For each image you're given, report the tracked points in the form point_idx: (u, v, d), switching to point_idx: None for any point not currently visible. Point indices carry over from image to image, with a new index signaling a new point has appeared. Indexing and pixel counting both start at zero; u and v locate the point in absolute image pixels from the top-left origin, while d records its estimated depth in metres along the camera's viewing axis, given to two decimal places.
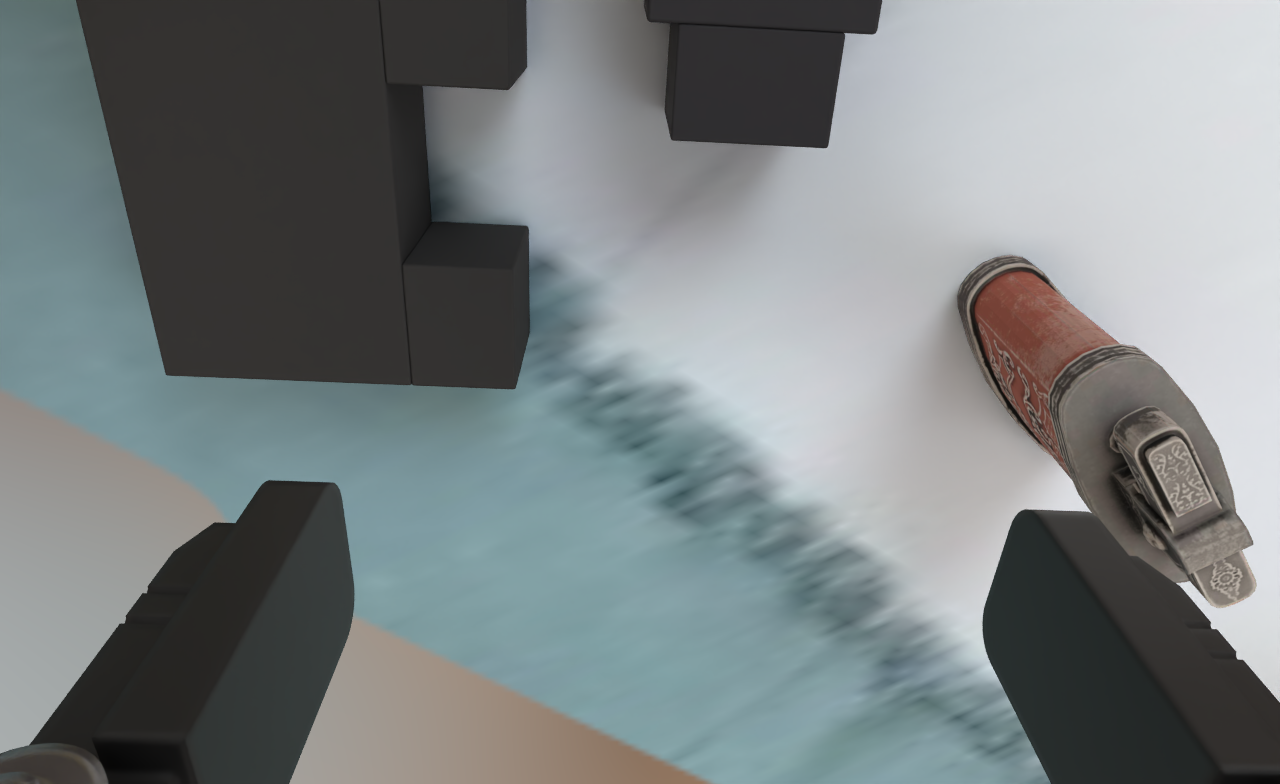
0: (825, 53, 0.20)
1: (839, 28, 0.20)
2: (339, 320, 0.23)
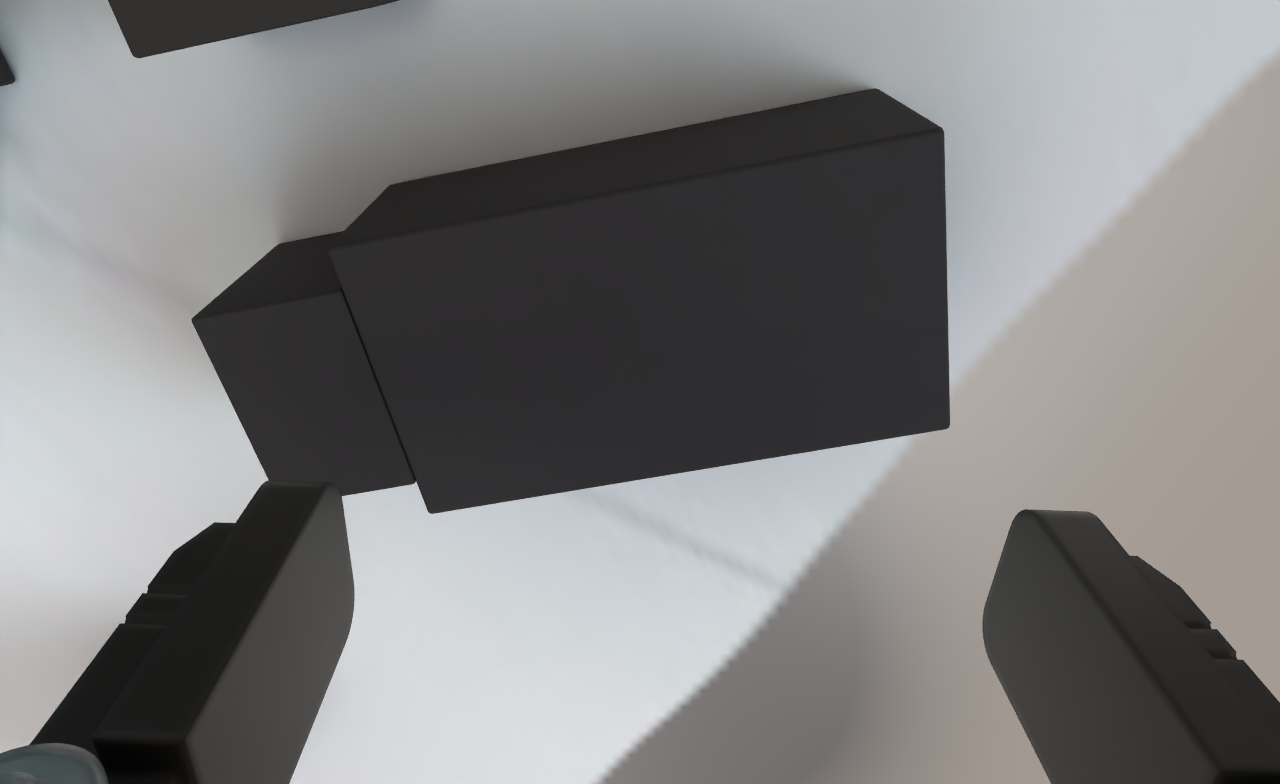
0: (384, 470, 0.16)
1: (417, 476, 0.16)
2: None
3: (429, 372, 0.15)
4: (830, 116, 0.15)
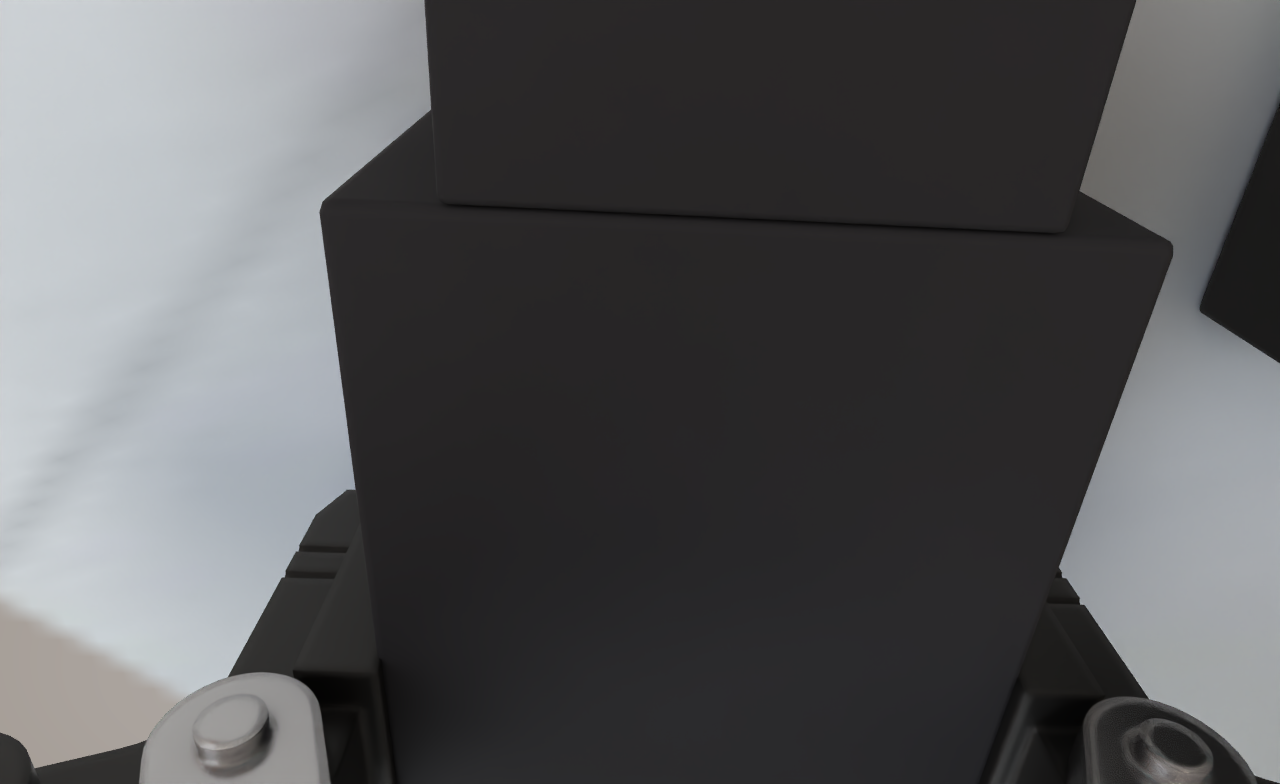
0: (502, 132, 0.05)
1: (464, 224, 0.05)
2: None
3: (776, 365, 0.06)
4: None
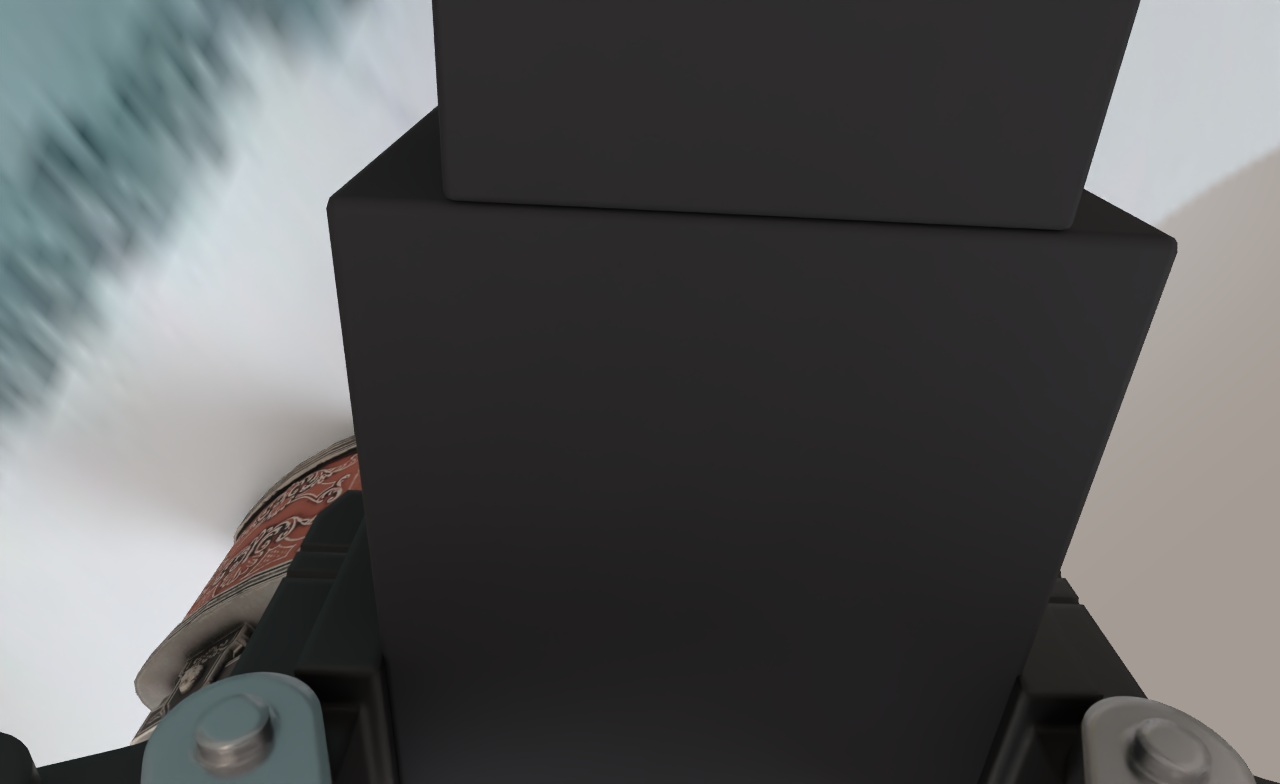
0: (508, 129, 0.05)
1: (471, 221, 0.05)
2: None
3: (781, 362, 0.06)
4: None
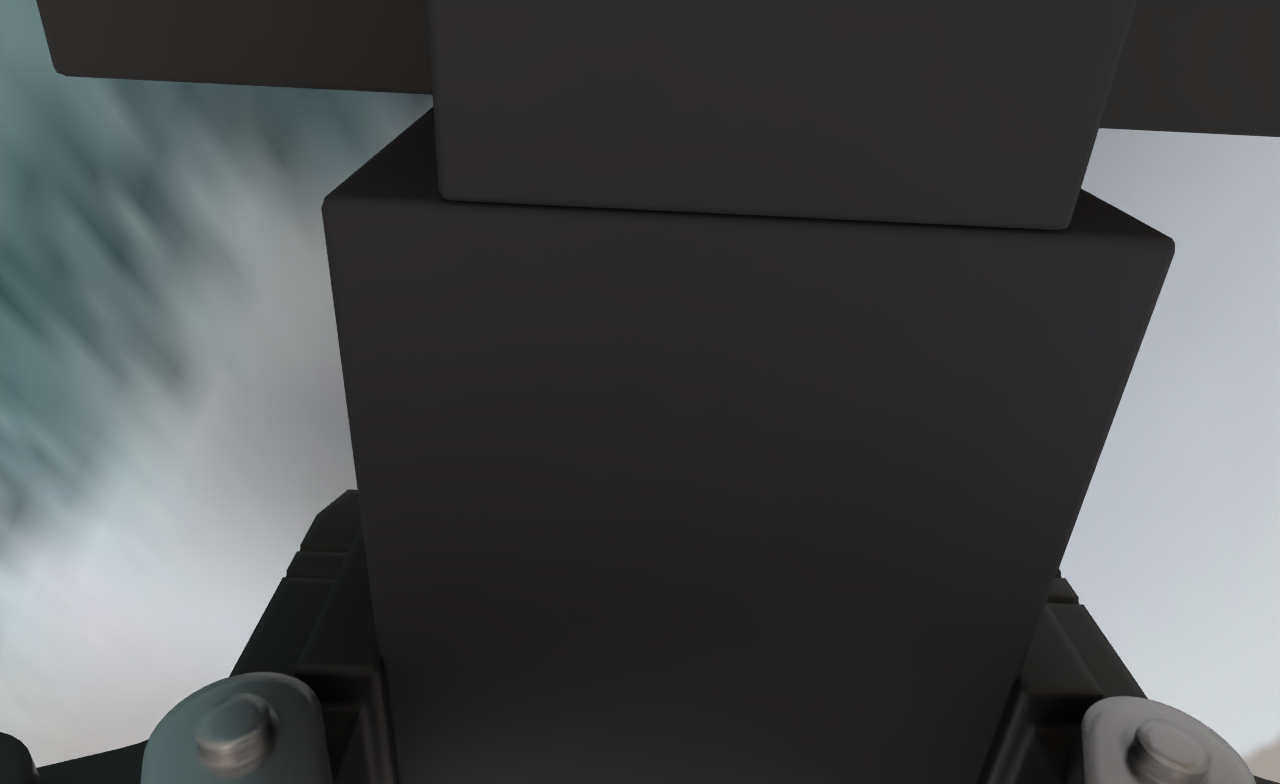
0: (504, 129, 0.05)
1: (466, 221, 0.05)
2: None
3: (777, 364, 0.06)
4: None
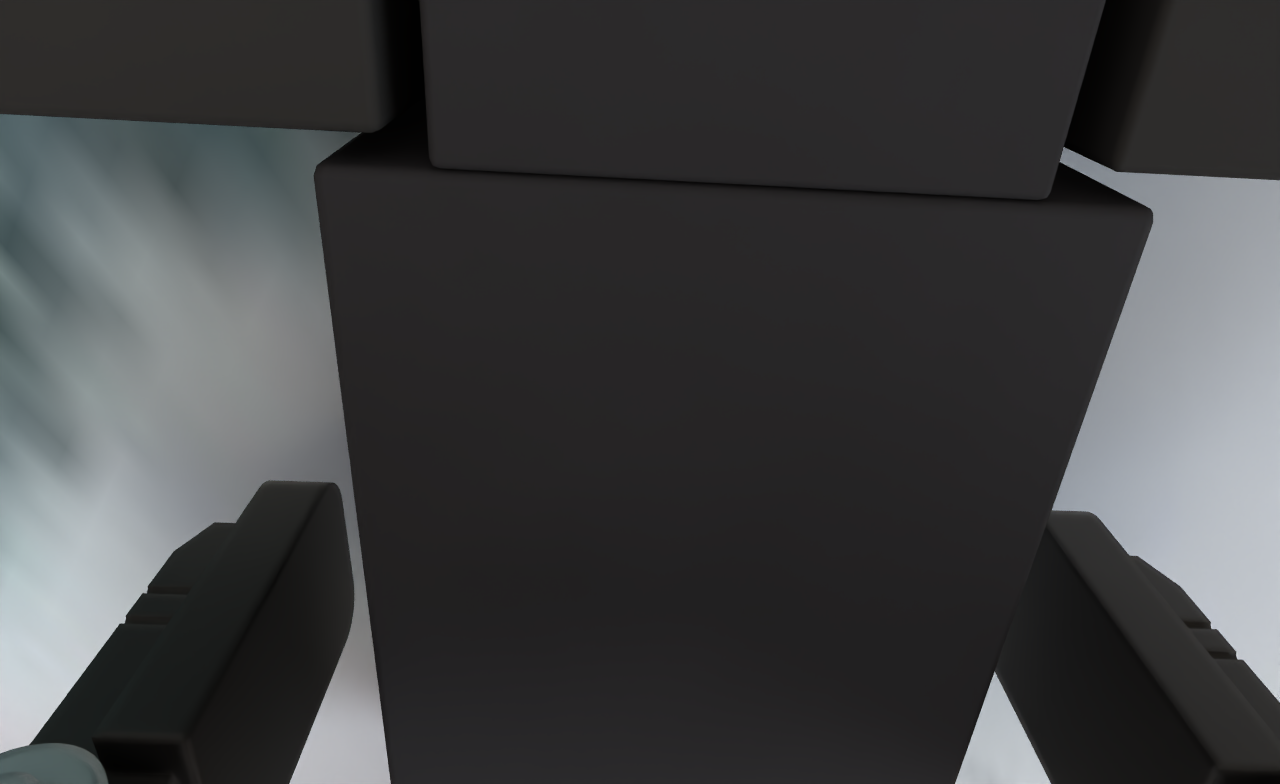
0: (493, 96, 0.05)
1: (457, 188, 0.05)
2: None
3: (763, 333, 0.06)
4: None
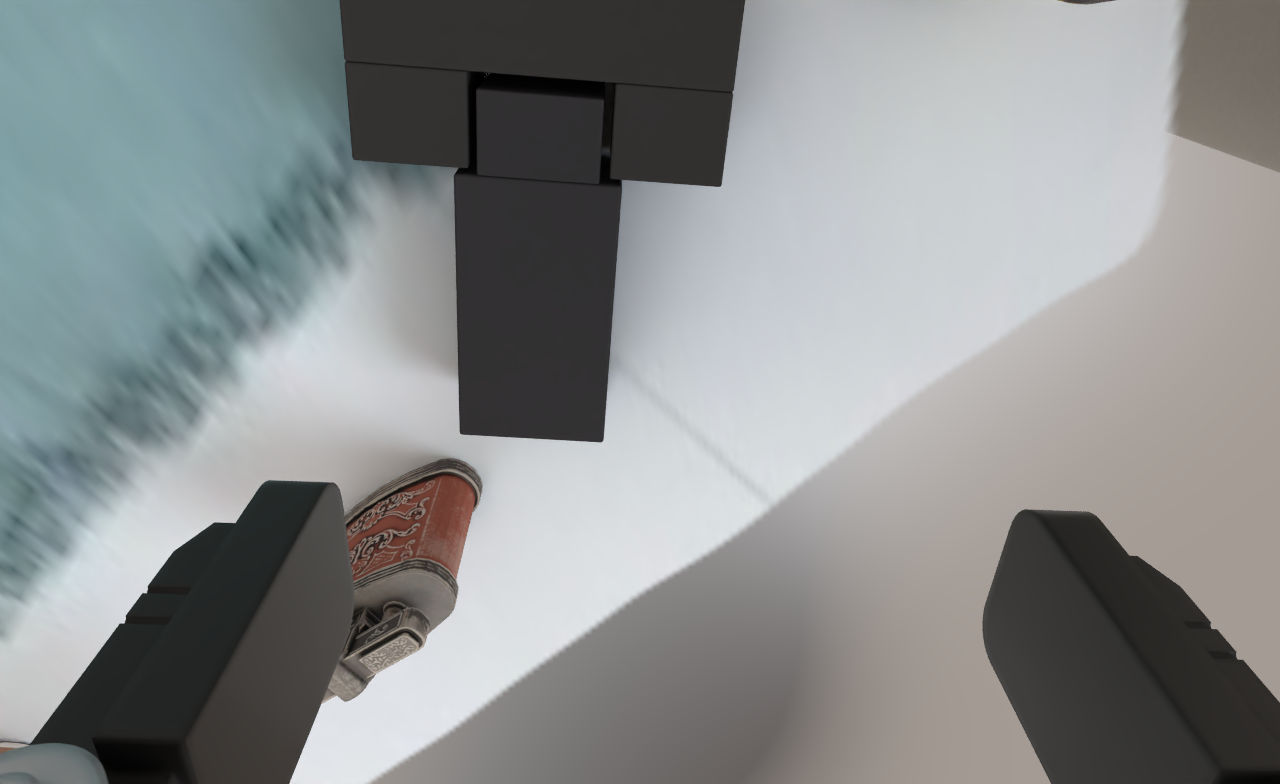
0: (489, 162, 0.27)
1: (482, 179, 0.27)
2: (406, 0, 0.25)
3: (545, 210, 0.28)
4: None
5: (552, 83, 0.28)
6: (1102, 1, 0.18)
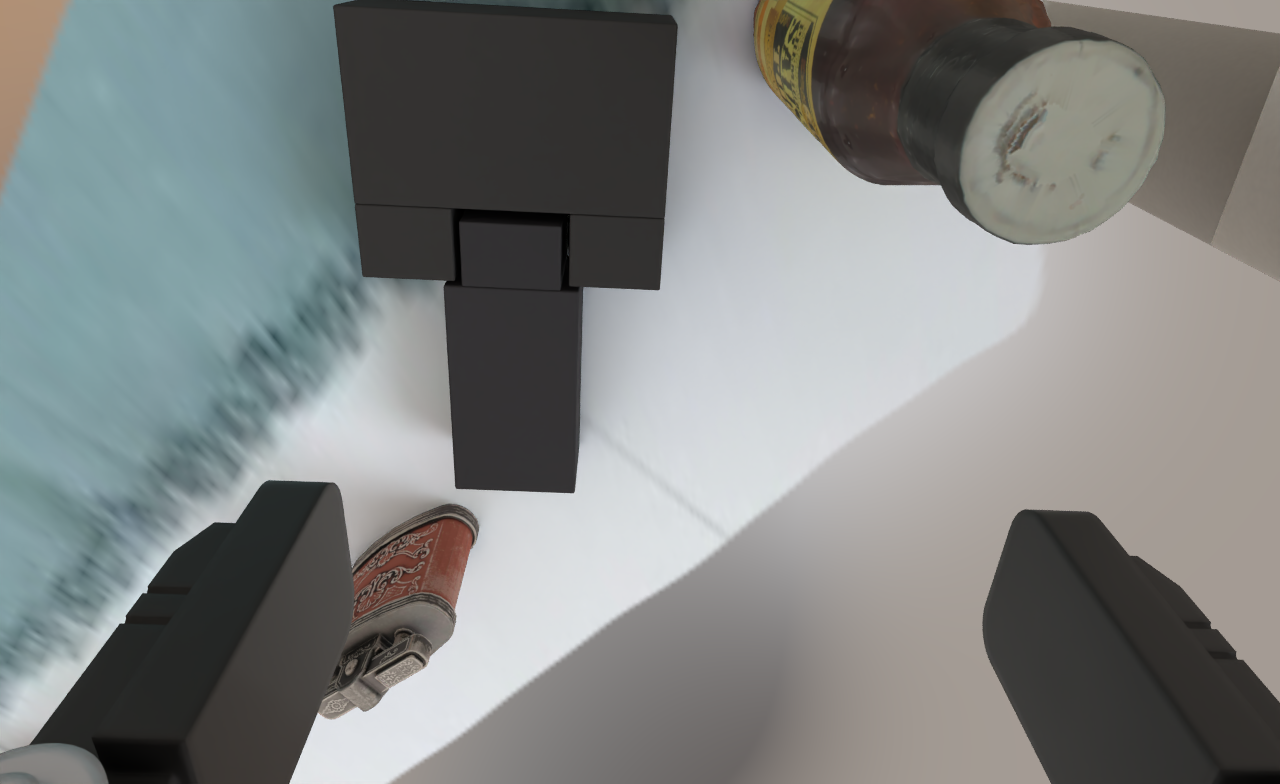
0: (471, 276, 0.34)
1: (466, 289, 0.34)
2: (401, 158, 0.32)
3: (517, 312, 0.35)
4: (577, 444, 0.40)
5: None
6: None
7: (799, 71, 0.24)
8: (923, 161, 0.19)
